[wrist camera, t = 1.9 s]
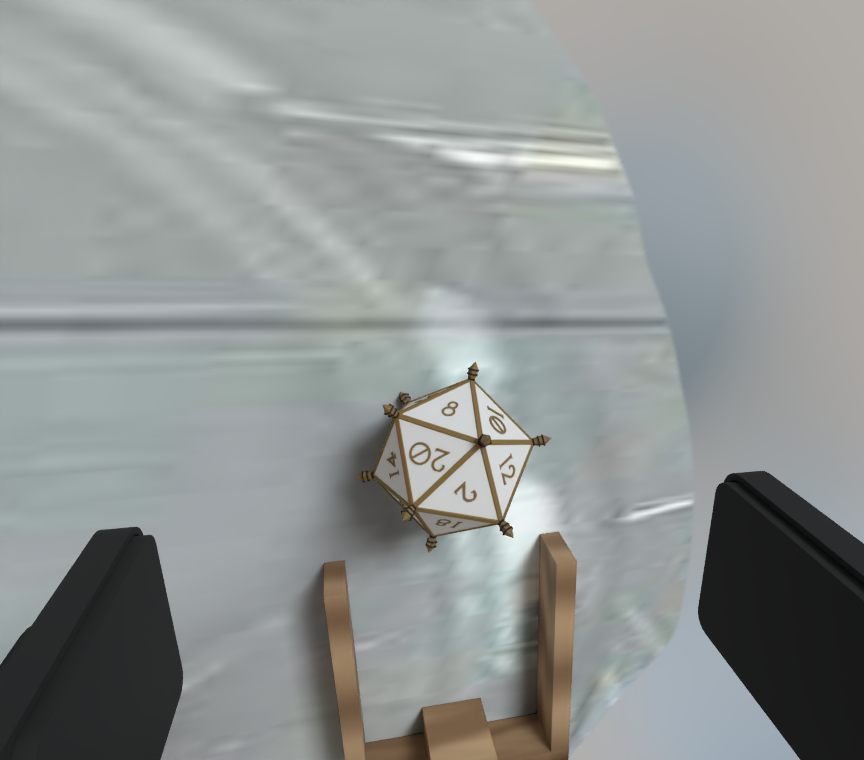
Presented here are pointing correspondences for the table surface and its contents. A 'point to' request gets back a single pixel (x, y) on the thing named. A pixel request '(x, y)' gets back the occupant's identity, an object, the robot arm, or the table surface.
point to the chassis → (465, 721)
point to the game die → (453, 459)
